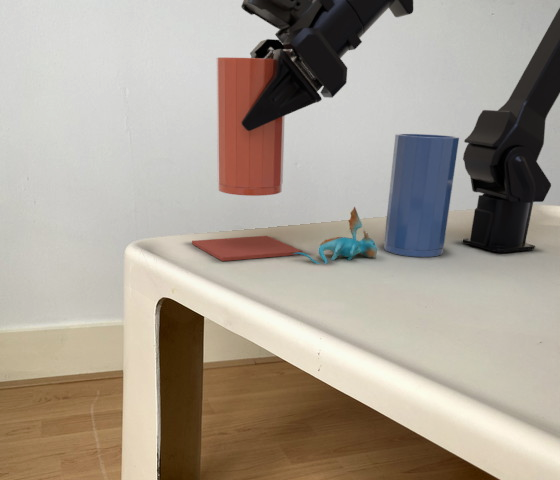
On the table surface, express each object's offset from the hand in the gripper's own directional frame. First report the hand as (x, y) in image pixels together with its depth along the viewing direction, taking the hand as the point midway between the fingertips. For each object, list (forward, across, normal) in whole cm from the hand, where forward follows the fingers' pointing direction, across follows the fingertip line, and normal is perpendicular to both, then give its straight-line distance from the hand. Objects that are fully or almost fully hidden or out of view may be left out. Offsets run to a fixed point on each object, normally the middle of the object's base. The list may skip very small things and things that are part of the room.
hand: (237, 125), depth 66 cm
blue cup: (-6, +1, +25) cm, 25 cm away
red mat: (+9, -1, +10) cm, 14 cm away
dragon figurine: (+2, +4, +18) cm, 18 cm away
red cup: (+4, 0, +6) cm, 7 cm away
